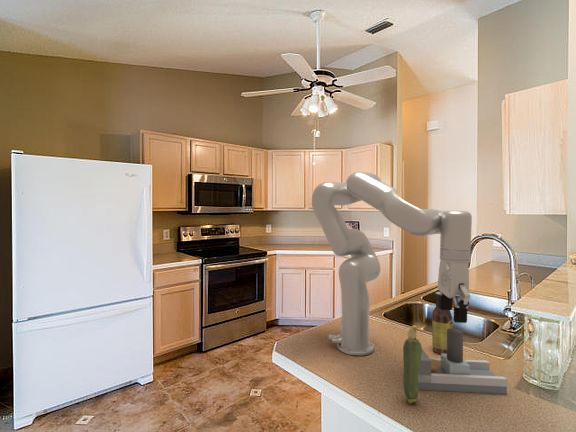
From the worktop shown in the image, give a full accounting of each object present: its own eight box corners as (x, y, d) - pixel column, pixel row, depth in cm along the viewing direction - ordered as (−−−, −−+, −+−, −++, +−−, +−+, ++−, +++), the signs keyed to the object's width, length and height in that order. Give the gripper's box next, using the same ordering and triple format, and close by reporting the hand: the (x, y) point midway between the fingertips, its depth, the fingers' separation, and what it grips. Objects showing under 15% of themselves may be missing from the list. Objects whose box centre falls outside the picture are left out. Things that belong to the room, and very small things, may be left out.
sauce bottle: (455, 356, 103) (455, 296, 103) (434, 355, 105) (435, 295, 104) (449, 347, 110) (449, 291, 109) (430, 346, 111) (430, 290, 110)
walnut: (428, 376, 87) (428, 365, 87) (423, 369, 91) (423, 358, 91) (443, 377, 87) (443, 366, 87) (438, 370, 91) (438, 359, 91)
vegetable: (400, 396, 82) (400, 320, 81) (416, 395, 82) (416, 319, 82) (408, 407, 77) (408, 326, 77) (425, 406, 78) (425, 326, 77)
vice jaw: (450, 379, 85) (450, 335, 85) (440, 366, 92) (441, 326, 92) (469, 380, 85) (469, 336, 85) (458, 367, 92) (459, 326, 91)
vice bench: (415, 389, 85) (415, 360, 85) (405, 370, 95) (405, 344, 95) (506, 394, 82) (507, 364, 82) (487, 374, 92) (487, 347, 92)
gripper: (430, 250, 97) (428, 305, 98) (453, 260, 80) (450, 327, 80) (456, 250, 96) (453, 306, 97) (484, 261, 79) (482, 328, 80)
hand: (452, 315), depth 89 cm, fingers open, 9 cm apart
